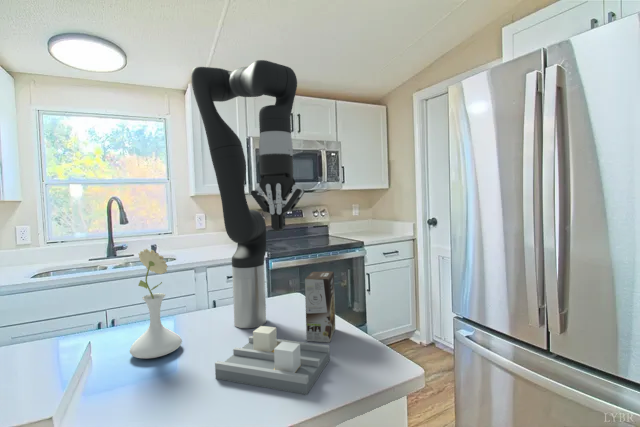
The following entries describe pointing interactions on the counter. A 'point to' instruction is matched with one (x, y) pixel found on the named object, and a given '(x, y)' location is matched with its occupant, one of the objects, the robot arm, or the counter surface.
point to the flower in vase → (154, 315)
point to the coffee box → (320, 306)
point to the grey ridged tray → (261, 367)
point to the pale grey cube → (287, 357)
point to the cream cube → (265, 339)
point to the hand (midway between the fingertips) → (278, 230)
